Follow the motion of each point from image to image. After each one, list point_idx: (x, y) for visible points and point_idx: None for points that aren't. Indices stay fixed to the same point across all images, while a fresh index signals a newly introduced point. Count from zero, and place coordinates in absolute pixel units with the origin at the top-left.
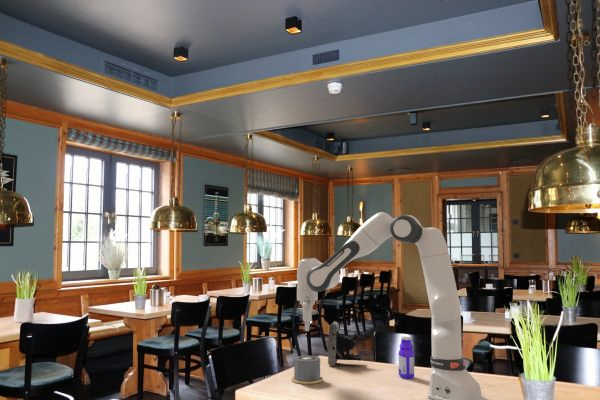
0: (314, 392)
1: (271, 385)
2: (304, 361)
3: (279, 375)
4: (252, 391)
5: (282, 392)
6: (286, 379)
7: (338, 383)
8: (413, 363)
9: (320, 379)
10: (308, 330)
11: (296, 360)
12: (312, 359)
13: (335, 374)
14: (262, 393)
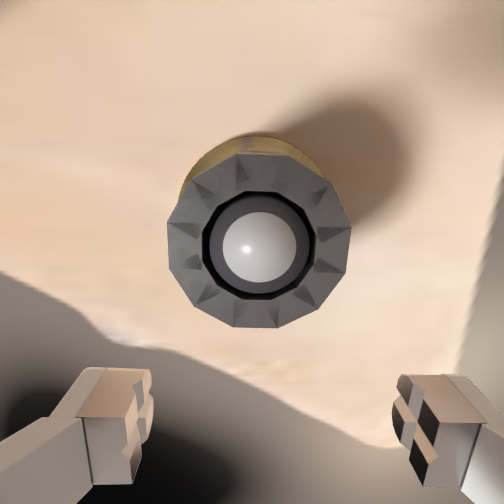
0: (466, 189)
1: (332, 360)
2: (345, 267)
3: (167, 337)
4: None
5: (439, 318)
6: None
7: (320, 47)
8: None
9: (279, 150)
10: (460, 384)
11: (304, 314)
12: (286, 212)
13: (118, 46)
14: None
